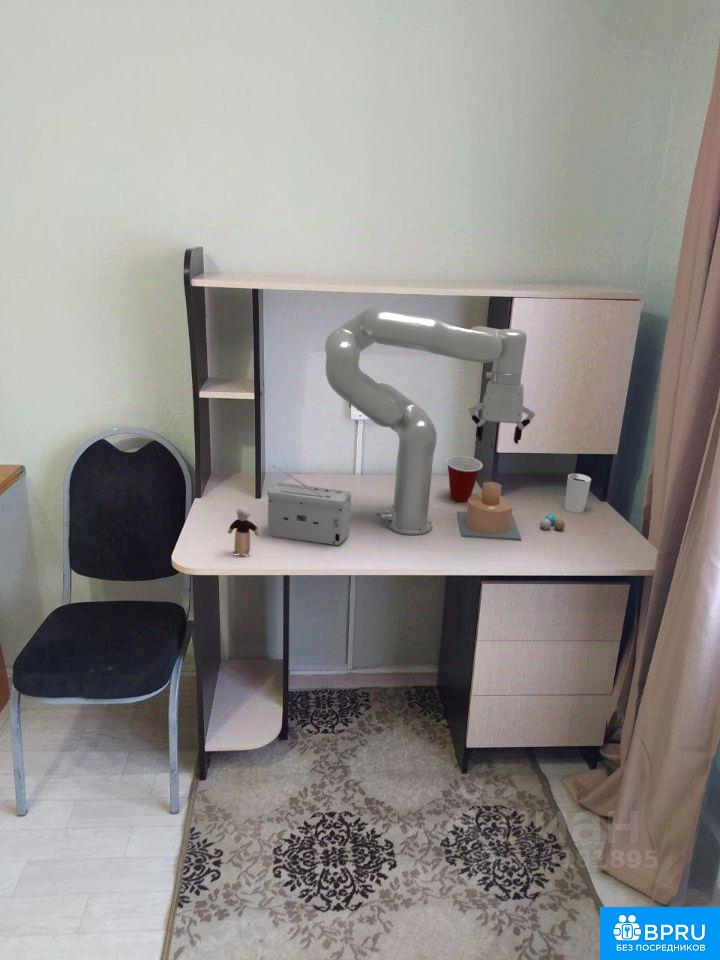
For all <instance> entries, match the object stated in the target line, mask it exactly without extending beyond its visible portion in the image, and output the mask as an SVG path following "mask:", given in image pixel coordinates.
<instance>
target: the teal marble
mask: <svg viewBox="0 0 720 960" xmlns="http://www.w3.org/2000/svg"><path fill="white" fill-rule="evenodd" d="M545 518H546V519H549V520H550V521H551V526H552V525H554V522H555V521H556V520H557V518H556V517H555V515H554V514H552V513H549V514H547V515H545V517H544V519H545Z"/></svg>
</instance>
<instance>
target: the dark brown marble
mask: <svg viewBox="0 0 720 960" xmlns="http://www.w3.org/2000/svg"><path fill="white" fill-rule="evenodd" d="M553 527H554V528H555V530H558V531H562V530H564V529H565V527H566V523H565V521H564V520H563V519H556V521H555V522H554V524H553Z"/></svg>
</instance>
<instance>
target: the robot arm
mask: <svg viewBox="0 0 720 960" xmlns="http://www.w3.org/2000/svg"><path fill="white" fill-rule="evenodd" d="M527 336H528V335H527V334H526V332H525V331H524V330H521V329H515V328H502V329H501V328H499V329H498V328H493V327H488V326H483V325H482V326H480V325H478V326H473V327H471V328H470V329H469V328H462V327H460V326H455V325H453V324H452V325H451V324H449V323H447V322H444V321H443V320H440V319H438V318H435V317H431V316H427V315H421V314H415V313H409V312H402V311H396V310H391V309H390V308H389V307H387V306H384V305H382V304H381V305H380V304H378V305H372V306H370V307H368V308H366V309H365V310H363V311H362V312H361V313H359V314H357V315H356V316H354V317H353V318H351V319H350V320H348V321H347V322H345V323H344V324H342V325H340V326H339V327H338V328H336V329H335V330H333V331H332V332H331V333H330V334H329V335H328V336H327V338H326V340H325V344H324V349H325V356H326V357H325V376H326V379H327V382H328V385H329V386H330V388H331V389H332V390H333V391H334V392H335V394H336V395H338V396H339V397H341V399H343V400H345V401H346V402H347V403H348V404H350V405H351V406H352V407H353V408H355V409H356V410H357V411H359V412H360V413H361V414H363V415H364V416H365V417H366V418H368V419H369V420H371V421H372V422H373V423H374V424H375V425H377V426H380V427H383V428H390V429H392V431H394V432H395V433H397V437H398V441H399V443H398V451H397V458H396V466H395V468H396V469H395V481H394V482H395V483H394V493H393V494H394V496H393V505H391V508H389V507H388V508H387V509H384V508H376V516H378V517H379V516H380V519H382V520H383V519H385V520H386V525H387V527H388V529H390V530H391V531H393V532H396V533H398V534H404V535H411V536H413V535H415V536H416V535H418V536H419V535H424V534H426V533H429V532H430V531H431V530H432V528H433V521H432V520H431V519H430V518H429V517H428V515H429V505H430V504H429V503H430V495H431V494H430V493H431V485H432V474H433V473H432V472H433V471H432V470H433V462H434V454H435V450H436V446H437V440H438V439H437V429H436V426H435V425H434V423H433V421H432V420H431V418H430V416H429V415H428V414H427V413H426V411H425V410H424V409H423V408H421V406H419V405H418V404H417V403H415V402H414V401H413V400H411V399H410V398H408V397H407V396H406V395H405V394H403V393H402V392H401V391H399V390H398V389H396V388H395V387H394V386H392V385H390V384H387V383H383V382H381V383H378V382H376V381H375V380H374V379H373V378H372V377H370V376H369V375H368V374H366V373H364V372H363V371H362V370H361V369H360V365H359V364H360V363H359V362H360V358H361V357H360V356H361V352H362V351H364V350H366V349H367V348H368V347H370V346H372V345H373V344H374V343H376V344H379V345H384V346H390V347H397V348H404V349H411V350H417V351H423V352H427V353H429V354H433V355H438V356H439V355H440V356H443V357H448V358H453V359H456V360H462V361H466V362H474V363H481V364H483V363H484V364H487V363H491V362H492V369H491V371H490V372H488V371H487V372H486V374H485V377H486V378H489V379H490V380H489V381H488V382H487V385H486V388H485V392H484V397H483V401H482V402H480V403H478V404H475V405H473V406H471V407H469V408H468V412H469V415H470V417H471V419H472V421H473V422H474V423H475V425H476V432H475V437H476V438H477V440H478V442H482V441H483V433H484V424H485V423H486V422H489V423H490V422H492V423H502V424H503V423H505V424H506V423H507V424H516V426H515V428H514V435H513V442H514V444H515V445H518V444H519V441H521V439H522V434H523V433H522V432H523V430H524V429H525V427H527V426H528V425H530V424H531V421H532V420H533V418H534V417H535V416H536V414H535V412H534V411H532V410H531V409H529V408H527V407H526V406H525V405H524V395H525V394H524V385H523V384H522V383H521V381H522V374H523V369H524V368H523V366H524V359H525V353H526V347H527V346H526V345H527V338H528V337H527ZM480 410H481V416H480V417H478V416H477V415H476V412H477V411H480ZM523 413H524V414H526V415H527V416H526V418H524V419H523V420H522V418H523Z"/></svg>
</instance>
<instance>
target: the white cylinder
mask: <svg viewBox="0 0 720 960" xmlns="http://www.w3.org/2000/svg"><path fill="white" fill-rule="evenodd" d="M566 482H567V483H566V491H565V499H564V500H565V501H564V509H565V510H566V511H569V512H571V513H578V514H579V513H583V512H585V508H586V504H587V499H588V495H589V492H590V487H591V482H592V478H591V477H590V476H588V475H585V474H582V473H570V474H568V475H567V481H566Z"/></svg>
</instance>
